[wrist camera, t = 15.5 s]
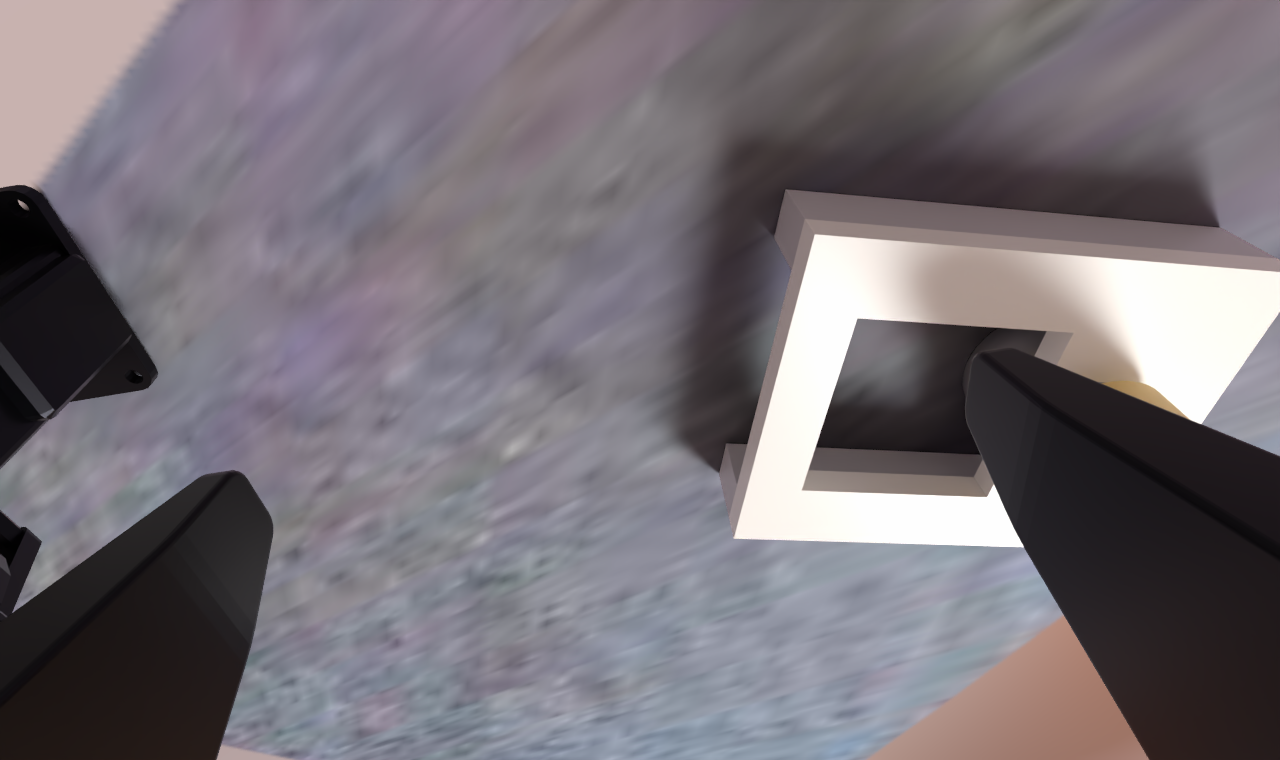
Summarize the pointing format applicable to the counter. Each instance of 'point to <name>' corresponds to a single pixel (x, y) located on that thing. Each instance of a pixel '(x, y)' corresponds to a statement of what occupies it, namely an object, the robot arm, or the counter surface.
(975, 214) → the keyhole plate
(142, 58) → the counter surface
